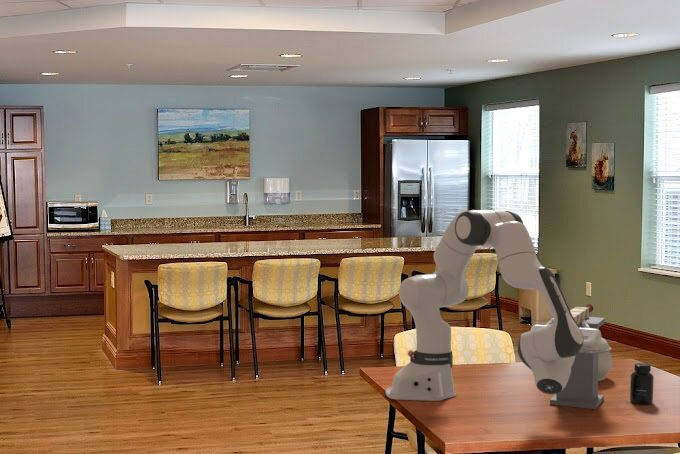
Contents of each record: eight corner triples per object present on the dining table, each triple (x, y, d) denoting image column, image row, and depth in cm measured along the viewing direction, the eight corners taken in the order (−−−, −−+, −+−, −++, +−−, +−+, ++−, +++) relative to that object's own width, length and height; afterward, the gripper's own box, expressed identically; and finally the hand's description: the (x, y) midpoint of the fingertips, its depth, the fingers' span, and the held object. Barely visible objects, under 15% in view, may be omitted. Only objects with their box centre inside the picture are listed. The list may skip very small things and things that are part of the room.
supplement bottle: (637, 405, 302) (638, 367, 301) (625, 400, 308) (626, 362, 308) (657, 404, 304) (658, 365, 303) (645, 399, 310) (645, 361, 309)
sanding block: (574, 326, 290) (575, 316, 290) (561, 325, 292) (561, 315, 292) (588, 317, 309) (588, 307, 309) (575, 316, 311) (575, 306, 311)
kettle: (605, 386, 328) (606, 312, 327) (550, 381, 336) (551, 309, 335) (618, 372, 351) (620, 303, 349) (567, 368, 359) (568, 300, 357)
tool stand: (596, 409, 297) (597, 323, 296) (549, 404, 303) (551, 320, 302) (603, 400, 309) (605, 317, 307) (559, 395, 315) (560, 315, 313)
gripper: (596, 345, 277) (604, 315, 287) (524, 339, 286) (535, 310, 296) (598, 362, 280) (606, 331, 291) (527, 356, 289) (537, 326, 299)
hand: (569, 321), depth 293 cm, fingers open, 8 cm apart
